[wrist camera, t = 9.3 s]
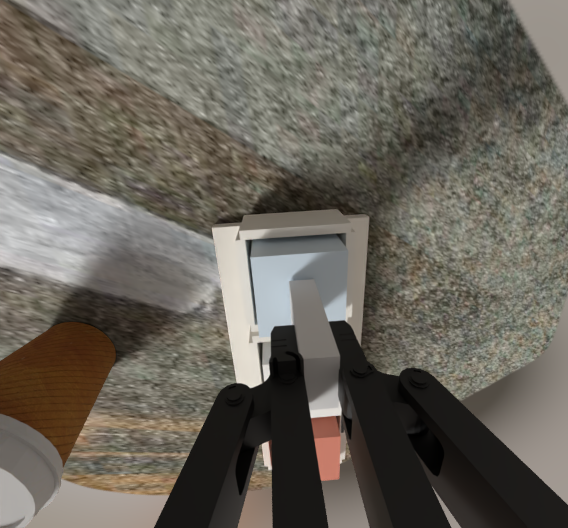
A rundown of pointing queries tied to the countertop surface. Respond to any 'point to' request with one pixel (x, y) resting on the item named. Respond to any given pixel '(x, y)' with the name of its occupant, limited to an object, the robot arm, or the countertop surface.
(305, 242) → the pale blue key
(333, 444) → the brick-red key
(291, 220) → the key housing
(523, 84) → the countertop surface
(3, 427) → the disposable coffee cup
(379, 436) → the robot arm
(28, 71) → the countertop surface
